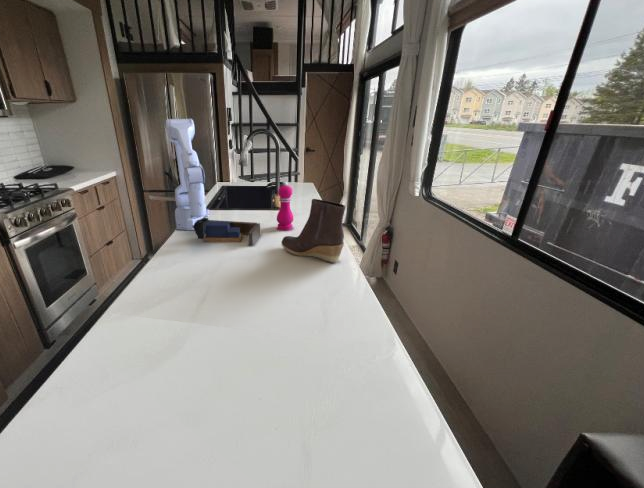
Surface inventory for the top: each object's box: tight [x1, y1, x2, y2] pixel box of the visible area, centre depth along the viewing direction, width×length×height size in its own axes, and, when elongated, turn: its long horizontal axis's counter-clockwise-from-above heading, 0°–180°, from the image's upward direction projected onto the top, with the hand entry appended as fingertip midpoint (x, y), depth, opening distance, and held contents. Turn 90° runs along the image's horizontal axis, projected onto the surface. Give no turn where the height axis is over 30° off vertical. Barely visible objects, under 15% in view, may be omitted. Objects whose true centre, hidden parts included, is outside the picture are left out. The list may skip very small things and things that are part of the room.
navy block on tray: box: [208, 219, 261, 247], centre depth 130 cm, size 26×13×5 cm, turn 78°
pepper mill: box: [276, 181, 294, 232], centre depth 136 cm, size 7×7×20 cm
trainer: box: [203, 220, 243, 243], centre depth 128 cm, size 14×6×6 cm, turn 88°
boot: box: [281, 198, 347, 264], centre depth 110 cm, size 9×24×20 cm, turn 53°
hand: (201, 238), depth 121 cm, fingers closed
